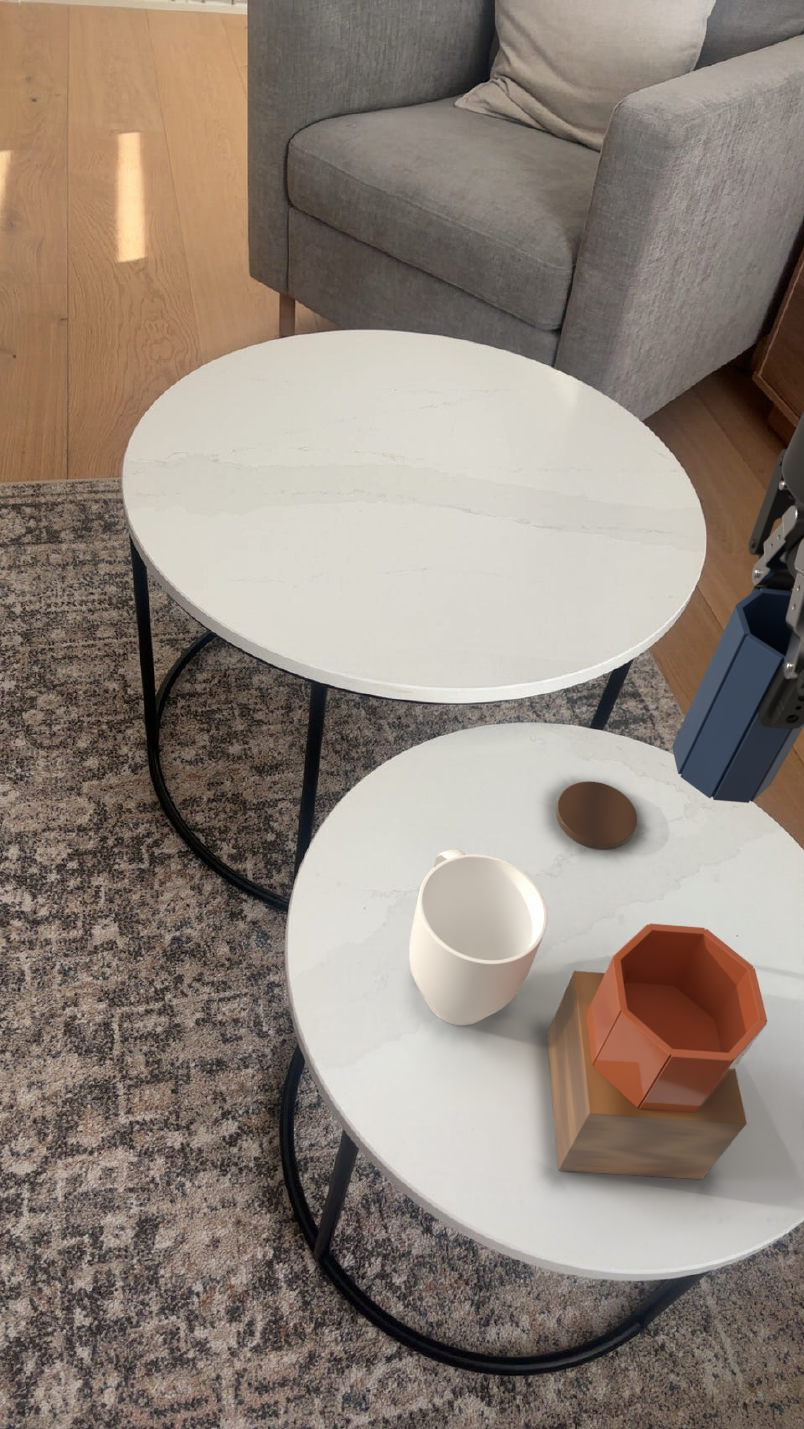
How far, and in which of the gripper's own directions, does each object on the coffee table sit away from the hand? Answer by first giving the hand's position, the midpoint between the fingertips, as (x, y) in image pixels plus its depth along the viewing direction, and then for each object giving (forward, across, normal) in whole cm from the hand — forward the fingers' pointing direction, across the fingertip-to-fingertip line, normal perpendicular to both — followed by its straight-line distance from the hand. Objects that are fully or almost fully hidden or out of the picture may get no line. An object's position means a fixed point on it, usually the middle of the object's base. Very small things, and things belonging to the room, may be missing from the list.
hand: (764, 680), depth 59 cm
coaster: (+34, +17, -2) cm, 38 cm away
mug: (+34, 0, +12) cm, 36 cm away
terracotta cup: (+25, -9, 0) cm, 26 cm away
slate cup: (+7, 0, 0) cm, 7 cm away
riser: (+34, -9, 0) cm, 35 cm away
